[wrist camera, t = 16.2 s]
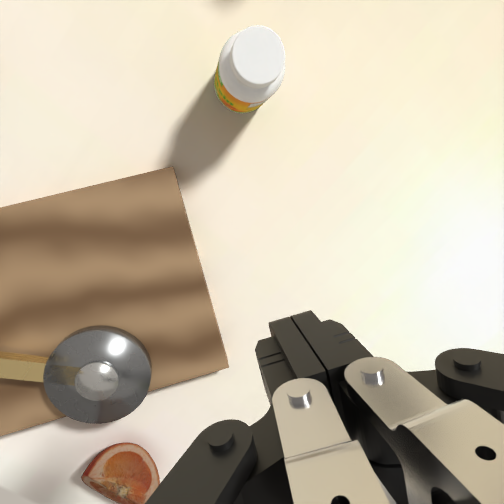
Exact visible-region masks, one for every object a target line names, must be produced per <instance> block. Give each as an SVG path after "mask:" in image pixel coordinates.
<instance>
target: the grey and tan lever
mask: <svg viewBox="0 0 504 504" xmlns="http://www.w3.org/2000/svg"><path fill="white" fill-rule="evenodd" d="M151 376H152V363H151V358H150V356H149V353H148V351H147V349H146V348H145V346H144V345H143V344H142V342H141V341H140V340H139V339H137V338H136V337H135V336H134V335H132V334H131V333H129V332H127V331H125V330H123V329H120V328H117V327H113V326H105V325H96V326H89V327H85V328H82V329H79V330H77V331H75V332H73V333H71V334H69V335H68V336H67V337H65V338H64V339H63V340H62V341H61V342H60V343H59V345H58V346H57V347H56V348H55V350H54V351H53V352H52V354H51V355H50V357H43V356H34V355H26V354H17V353H9V352H0V378H6V379H16V380H25V381H35V382H44V388H45V391H46V394H47V396H48V398H49V399H50V401H51V402H52V404H53V405H54V406H55V407H56V408H57V409H58V410H59V411H60V412H62V413H63V414H65V415H66V416H68V417H70V418H72V419H75V420H77V421H81V422H86V423H107V422H112V421H115V420H118V419H121V418H123V417H125V416H127V415H128V414H130V413H131V412H133V411H134V410H135V409H136V408H137V407H138V406H139V405H140V404H141V403H142V401H143V400H144V398H145V397H146V395H147V392H148V390H149V386H150V381H151Z"/></svg>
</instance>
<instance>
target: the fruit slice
mask: <svg viewBox="0 0 504 504" xmlns="http://www.w3.org/2000/svg"><path fill="white" fill-rule="evenodd" d="M81 478H82V480H83V482H84V483H85V484H86V485H87V486H89V487H90V488H92V489H94V490H95V491H97V492H99V493H101V494H102V495H104V496H105V497H107V498H109V499H111V500H113V501H115V502H117V503H119V504H145V502H146V501H147V500H148V499H149V497H150V496H151V495H152V494H153V492H154V491H155V490H156V489H157V487H158V486H159V485H160V481H159V475H158V470H157V467H156V465H155V463H154V461H153V459H152V458H151V456H150V455H149V453H148V452H147V451H146V450H145V449H143V448H142V447H141V446H139V445H137V444H133V443H119V444H115V445H112V446H109V447H108V448H106V449H105V450H103V451H102V452H101V453H99V454H98V455H97V456H96V457H95V458H94V460H93V461H92V462H91V463H90V464H89V466H88V467H87V469H86V470H85V471H84V473H83V475H82V477H81Z"/></svg>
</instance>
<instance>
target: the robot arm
mask: <svg viewBox="0 0 504 504" xmlns="http://www.w3.org/2000/svg"><path fill="white" fill-rule="evenodd" d="M269 328H270V332H271V336H272V337H269V338H266V339H262V340H259V341H258V343H257V346H256V349H255V352H256V356H257V360H258V364H259V368H260V371H261V375H262V379H263V383H264V387H265V390H266V393H267V396H268V399H269V402H270V405H271V406H270V408H269V410H268V412H267V413H266V414H265V415H264V417H262V418H261V419H260V420H259V421H257V422H256V423H254V424H253V425H251V426H248V425H247V424H246V423H244V422H242V421H239V420H223V421H220V422H217V423H214V424H212V425H211V426H209V427H207V428H206V429H205V430H203V431H202V432H201V433H200V434H199V435H198V437H197V438H196V439H195V440H194V442H193V443H192V444H191V445H190V447H189V448H188V449H187V451H186V452H185V453H184V454H183V456H182V457H181V458H180V459H179V461H178V462H177V463H176V464H175V466H174V467H173V468H172V470H171V471H170V472H169V473H168V475H167V476H166V477H165V478H164V480H163V481H162V482H161V483H160V485H159V486H158V487H157V489H156V490H155V491H154V492H153V494H152V495H151V496H150V497H149V499H148V500H147V501H146V502H145V504H504V354H499V353H493V352H488V351H482V350H476V349H469V348H458V349H451V350H447V351H445V352H443V353H441V354H440V355H438V356H437V358H436V360H435V368H436V370H429V371H417V372H406V371H405V370H403V369H402V368H401V367H400V366H398V365H397V364H396V363H394V362H393V361H391V360H388V359H385V358H381V357H373V356H372V354H371V353H370V352H369V351H368V350H367V349H366V348H365V347H364V346H363V345H362V344H361V343H360V342H359V341H358V340H357V339H355V337H354V336H353V335H352V334H351V333H349V331H348V330H347V329H346V328H345V327H344V326H343V325H342V324H340V323H338V322H335V321H333V320H326V321H323V322H321V321H320V320H319V319H318V318H317V317H316V315H315V314H314V313H313V312H312V311H311V310H310V311H307V312H303V313H300V314H296V315H293V316H290V317H286V318H283V319H279V320H276V321H272V322H269Z"/></svg>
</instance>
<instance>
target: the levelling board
mask: <svg viewBox="0 0 504 504" xmlns="http://www.w3.org/2000/svg"><path fill="white" fill-rule="evenodd" d="M96 325H105V326H113V327H117V328H120V329H123V330H125V331H127V332H129V333H131V334H132V335H134V336H135V337H136V338H137V339H139V340H140V341H141V342H142V344H143V345H144V346H145V348H146V349H147V351H148V353H149V356H150V358H151V363H152V376H151V381H150V386H149V390H148V392H149V391H152V390H156V389H159V388H162V387H166V386H169V385H172V384H176V383H179V382H182V381H186V380H189V379H192V378H196V377H199V376H202V375H206V374H209V373H212V372H216V371H219V370H222V369H226V368H229V365H228V360H227V356H226V352H225V349H224V345H223V342H222V338H221V334H220V331H219V327H218V324H217V320H216V317H215V313H214V310H213V306H212V303H211V299H210V295H209V292H208V288H207V285H206V281H205V278H204V274H203V271H202V267H201V263H200V260H199V256H198V253H197V249H196V246H195V242H194V239H193V235H192V231H191V228H190V224H189V221H188V217H187V214H186V210H185V207H184V203H183V200H182V196H181V192H180V189H179V185H178V182H177V178H176V175H175V171H174V168H173V167H168V168H164V169H160V170H156V171H152V172H147V173H143V174H139V175H135V176H131V177H127V178H122V179H118V180H114V181H110V182H106V183H102V184H97V185H93V186H89V187H85V188H81V189H77V190H72V191H68V192H64V193H60V194H56V195H51V196H47V197H43V198H39V199H35V200H31V201H26V202H22V203H18V204H14V205H10V206H6V207H1V208H0V352H9V353H17V354H26V355H34V356H43V357H50V355H51V354H52V352H53V351H54V350H55V348H56V347H57V346H58V345H59V343H60V342H61V341H62V340H63V339H64V338H65V337H67V336H68V335H69V334H71V333H73V332H75V331H77V330H79V329H82V328H85V327H89V326H96ZM63 417H66V415H65V414H63V413H62V412H60V411H59V410H58V409H57V408H56V407H55V406H54V405H53V404H52V402H51V401H50V399H49V398H48V396H47V394H46V391H45V388H44V382H35V381H25V380H16V379H6V378H0V436H3V435H6V434H9V433H13V432H16V431H19V430H23V429H26V428H29V427H33V426H36V425H39V424H43V423H46V422H49V421H53V420H56V419H59V418H63Z"/></svg>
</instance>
